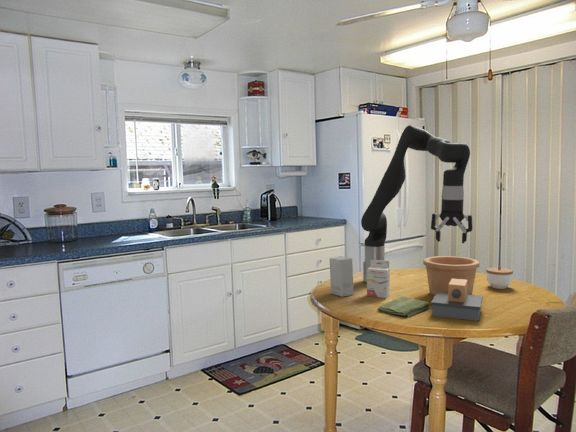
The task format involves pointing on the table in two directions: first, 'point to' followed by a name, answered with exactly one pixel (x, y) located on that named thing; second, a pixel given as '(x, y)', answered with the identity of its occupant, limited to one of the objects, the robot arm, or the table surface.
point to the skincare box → (341, 276)
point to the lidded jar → (499, 277)
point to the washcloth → (404, 306)
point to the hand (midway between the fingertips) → (450, 242)
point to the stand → (457, 307)
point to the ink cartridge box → (378, 279)
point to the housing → (457, 290)
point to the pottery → (449, 272)
